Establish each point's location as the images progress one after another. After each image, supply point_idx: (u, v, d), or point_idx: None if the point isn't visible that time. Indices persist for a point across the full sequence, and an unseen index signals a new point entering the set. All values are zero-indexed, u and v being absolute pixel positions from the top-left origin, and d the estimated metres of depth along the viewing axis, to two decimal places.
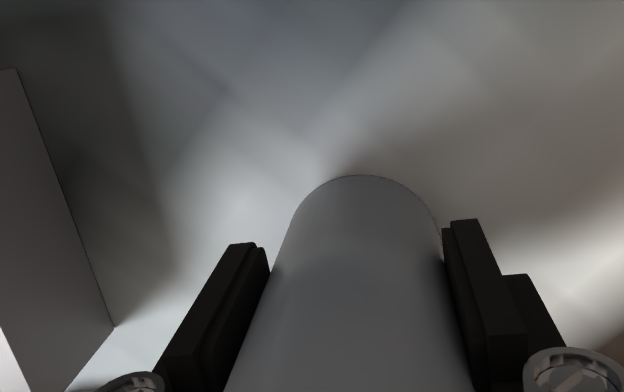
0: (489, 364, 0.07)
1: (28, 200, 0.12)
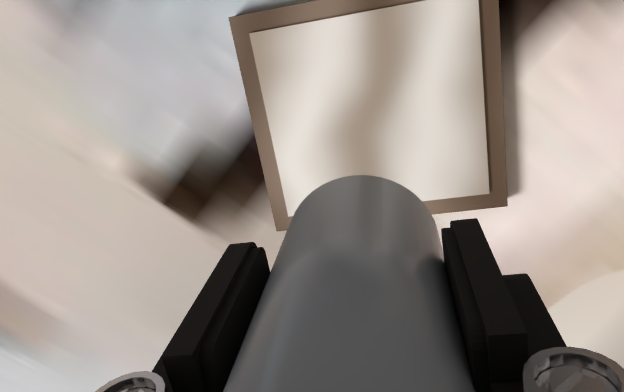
0: (489, 364, 0.07)
1: None
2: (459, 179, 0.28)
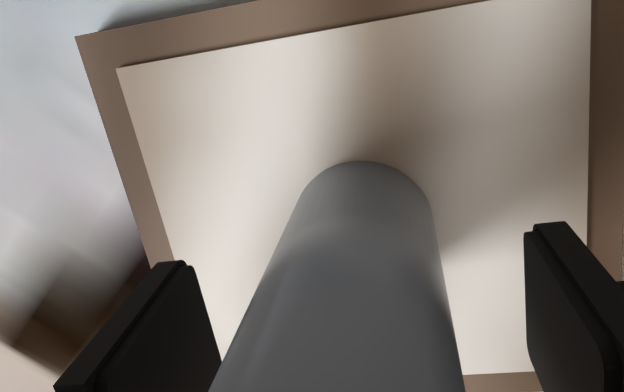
0: (623, 385, 0.06)
1: None
2: None
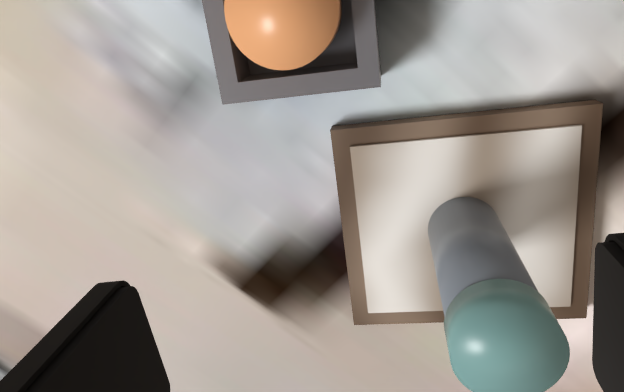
0: None
1: None
2: (542, 291, 0.29)
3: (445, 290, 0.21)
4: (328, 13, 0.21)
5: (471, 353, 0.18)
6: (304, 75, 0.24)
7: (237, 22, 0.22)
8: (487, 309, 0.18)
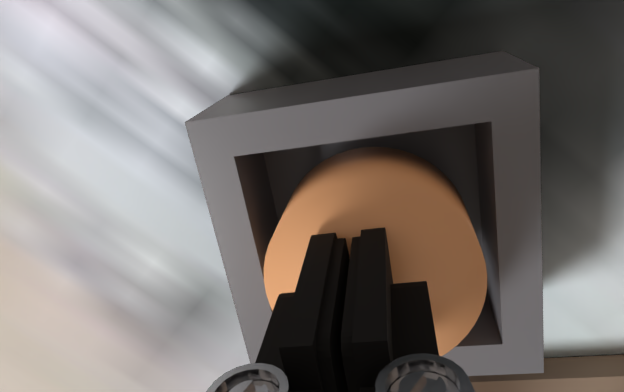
0: (357, 369, 0.07)
1: None
2: None
3: None
4: (467, 290, 0.11)
5: None
6: None
7: None
8: None
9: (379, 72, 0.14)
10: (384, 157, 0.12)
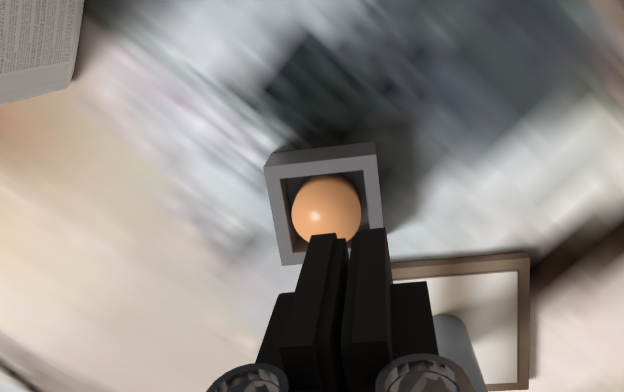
0: (357, 369, 0.07)
1: None
2: (497, 373, 0.42)
3: None
4: (355, 217, 0.35)
5: None
6: None
7: (299, 221, 0.36)
8: None
9: (330, 147, 0.37)
10: (331, 175, 0.36)
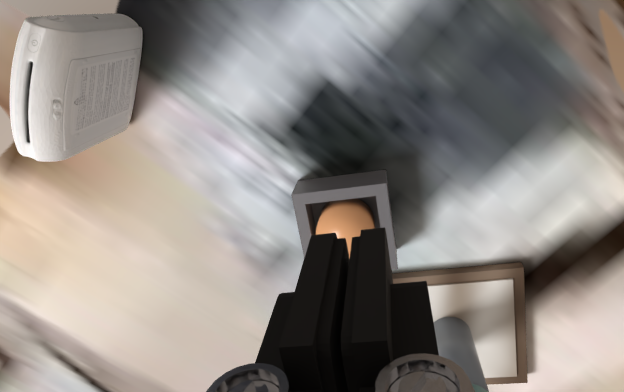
0: (357, 370, 0.07)
1: (390, 207, 0.43)
2: (499, 368, 0.48)
3: None
4: None
5: None
6: None
7: None
8: None
9: (347, 175, 0.44)
10: (348, 200, 0.42)
